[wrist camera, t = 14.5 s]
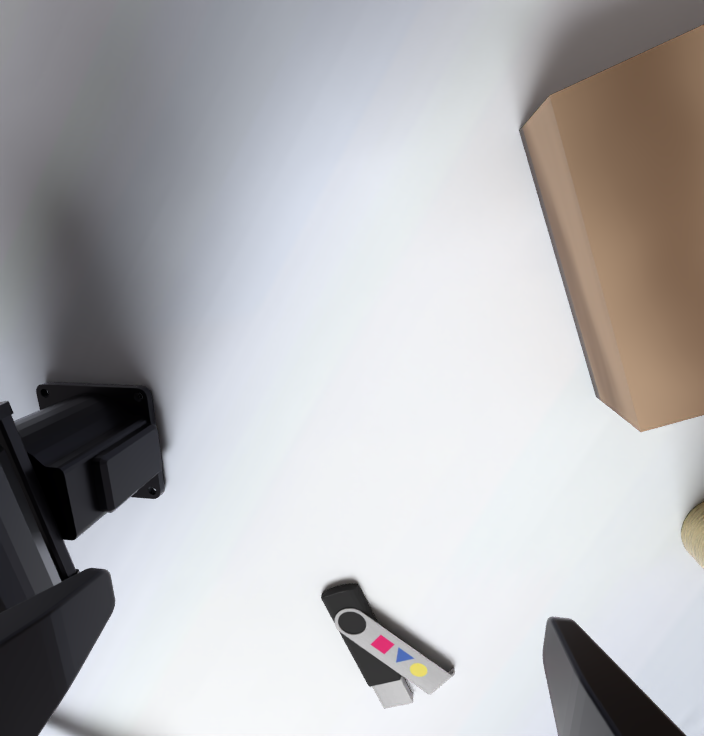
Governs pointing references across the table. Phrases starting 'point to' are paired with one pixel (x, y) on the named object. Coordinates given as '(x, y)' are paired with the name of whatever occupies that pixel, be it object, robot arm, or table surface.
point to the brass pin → (694, 534)
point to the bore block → (631, 225)
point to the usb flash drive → (380, 649)
